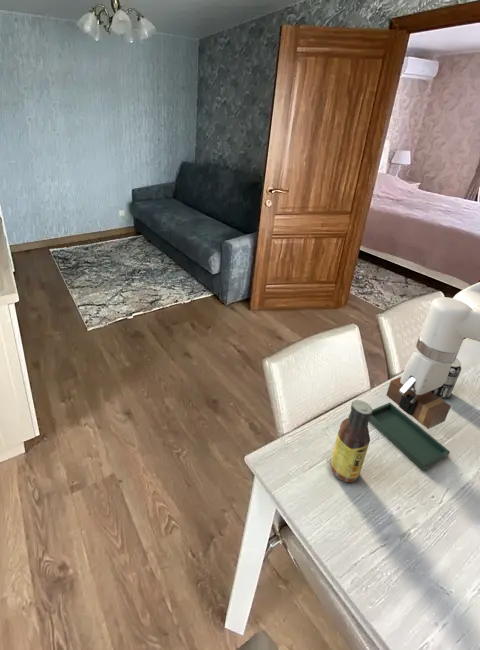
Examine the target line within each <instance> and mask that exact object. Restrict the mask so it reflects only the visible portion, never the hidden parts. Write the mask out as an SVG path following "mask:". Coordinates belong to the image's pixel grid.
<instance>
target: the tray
mask: <svg viewBox="0 0 480 650" xmlns="http://www.w3.org/2000/svg"><path fill="white" fill-rule="evenodd" d="M368 423H370V424H372V426H373V427H374V428H376V430H378V431H379V432H380V433H381V434H382V435H383V436H384V437H386V438H387V439H388V440H389V442H391V443H392V444H393V445H394V446H395V447H396V448H397V449H399V451H401V452H402V453H403V455H405V456H406V457H407V458H408V459H409V460H410V461H411V462H412V463H413V464H415V466H416V467H418V468H419V469H420V470H421V471H422V472H423V471H425V470H427V469H429V468H431V467H432V466H435V465H436V464H438V463H440V462H441V461H443V460H445V459H447V458H448V457H449V456H450V453H451V451H450V450H448V449H447V448H446V447H445V446H444V445H443V444H442V443H440V442H439V441H438V440H436V439H435V438H434V437H433V436H432V435H431V434H429V433H428V432H427V431H426V430H425V429H423V428H422V427H421V426H420V425H418V424H417V423H416V422H414V421H413V420H412V419H411V418H410V417H409V416H408V415H406V414H405V413H403V411H401V410H400V409H399V408H397V406H395V405H394V404H392V402H387V403H385V404H383V405H380V406H378V407H375V408H372V416H371V417H370V418H369V422H368Z"/></svg>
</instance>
